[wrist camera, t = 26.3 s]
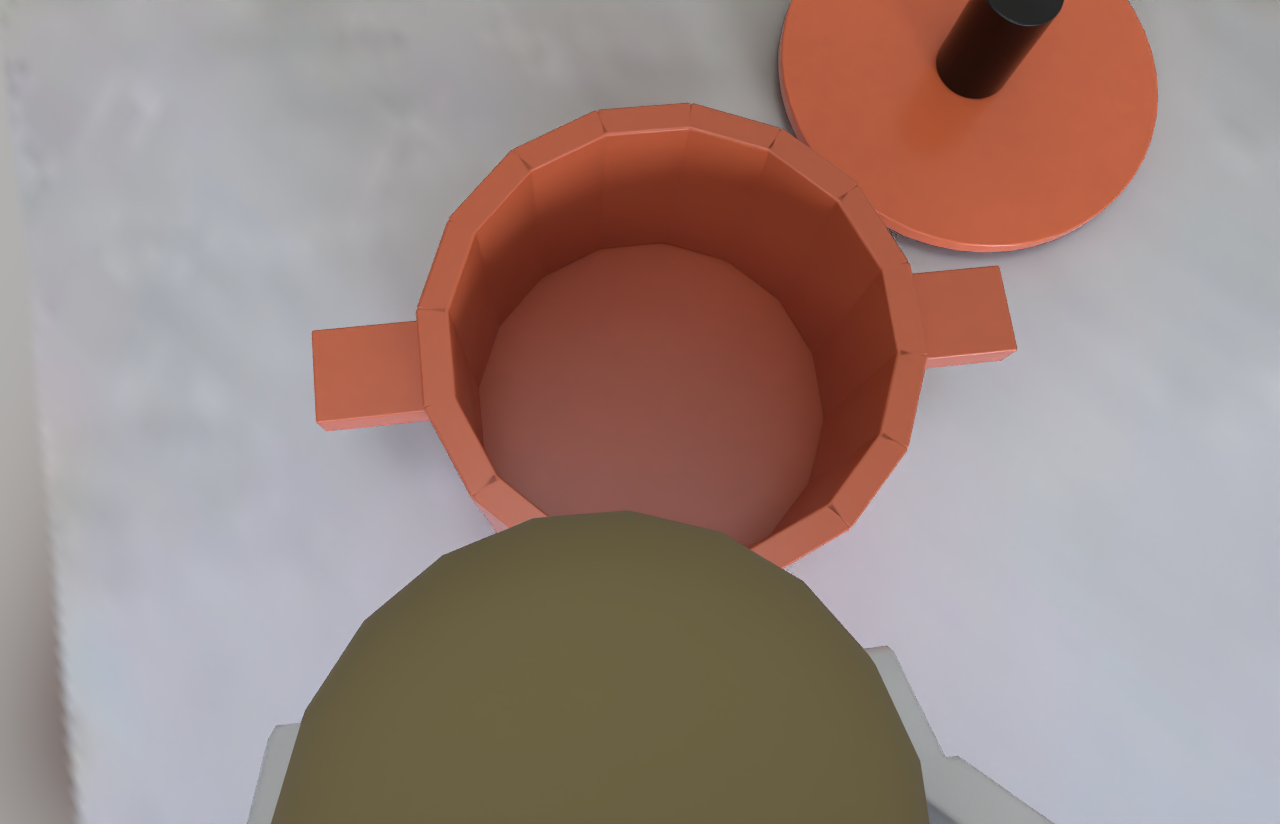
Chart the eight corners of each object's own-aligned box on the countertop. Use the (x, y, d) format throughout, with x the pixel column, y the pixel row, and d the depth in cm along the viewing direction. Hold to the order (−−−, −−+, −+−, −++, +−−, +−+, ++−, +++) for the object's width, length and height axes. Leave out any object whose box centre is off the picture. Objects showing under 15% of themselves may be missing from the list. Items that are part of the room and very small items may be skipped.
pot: (362, 254, 33) (294, 131, 25) (882, 208, 34) (972, 79, 26) (385, 637, 30) (318, 635, 22) (952, 567, 31) (1075, 542, 24)
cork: (832, 788, 17) (1257, 1032, 6) (532, 1000, 16) (429, 1722, 5) (647, 496, 18) (741, 274, 7) (354, 676, 17) (-36, 728, 6)
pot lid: (747, -61, 36) (775, -180, 31) (1090, -86, 38) (1173, -204, 32) (809, 278, 33) (853, 210, 28) (1180, 239, 35) (1288, 167, 29)
